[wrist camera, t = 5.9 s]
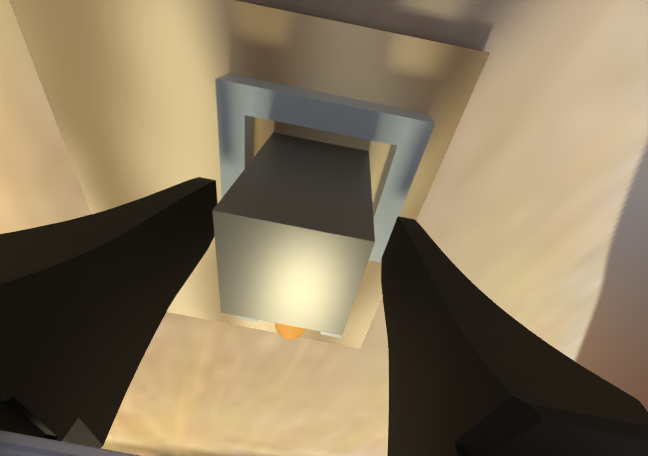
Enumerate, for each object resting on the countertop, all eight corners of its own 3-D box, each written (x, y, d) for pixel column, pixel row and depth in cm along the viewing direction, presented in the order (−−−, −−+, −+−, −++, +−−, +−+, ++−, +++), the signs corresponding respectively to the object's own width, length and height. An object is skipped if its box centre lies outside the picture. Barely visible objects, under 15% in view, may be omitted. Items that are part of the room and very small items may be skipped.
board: (130, 299, 20) (126, 304, 20) (2, -48, 10) (-11, -51, 9) (359, 343, 20) (359, 348, 20) (485, 51, 10) (489, 52, 9)
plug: (262, 312, 19) (229, 413, 14) (273, 132, 12) (212, 210, 7) (322, 323, 19) (309, 428, 14) (368, 151, 12) (375, 242, 7)
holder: (232, 217, 15) (223, 232, 14) (228, 73, 11) (215, 78, 10) (379, 246, 15) (381, 262, 14) (428, 113, 11) (435, 123, 10)
